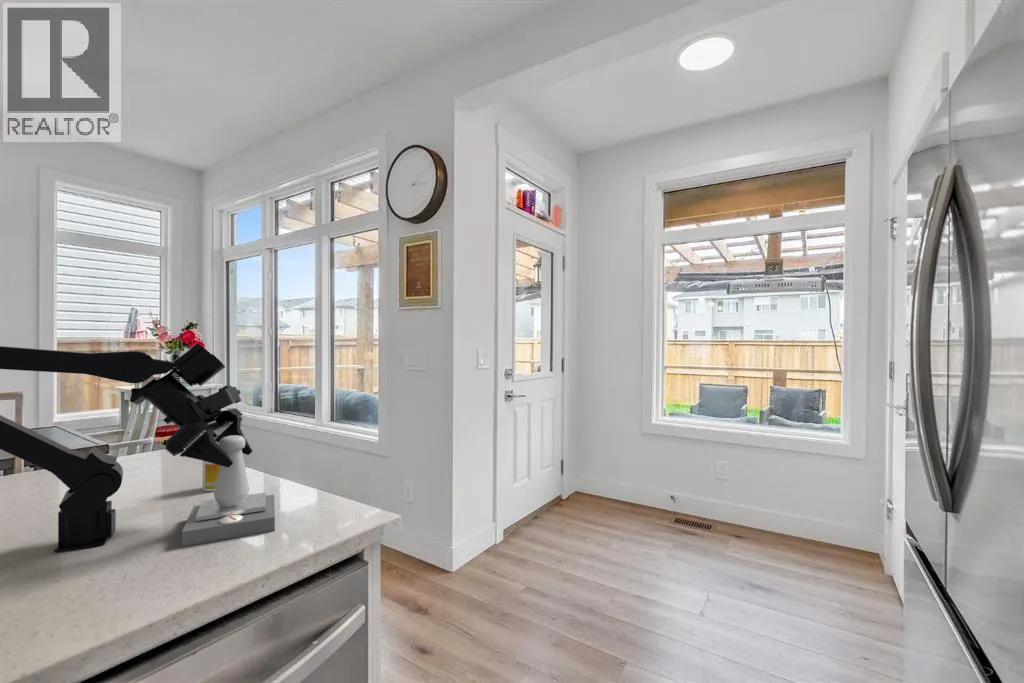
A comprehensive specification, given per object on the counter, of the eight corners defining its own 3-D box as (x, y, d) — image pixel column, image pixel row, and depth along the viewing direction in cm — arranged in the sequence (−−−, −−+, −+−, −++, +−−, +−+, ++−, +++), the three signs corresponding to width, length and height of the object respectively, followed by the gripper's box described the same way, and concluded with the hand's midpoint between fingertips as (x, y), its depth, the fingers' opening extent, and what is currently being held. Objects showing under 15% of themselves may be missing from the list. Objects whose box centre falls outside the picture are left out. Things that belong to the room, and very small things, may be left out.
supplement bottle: (234, 487, 109) (234, 446, 109) (209, 493, 104) (209, 451, 104) (222, 483, 112) (222, 443, 112) (198, 489, 107) (198, 448, 107)
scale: (181, 546, 77) (181, 529, 77) (193, 518, 90) (193, 503, 90) (274, 530, 84) (274, 514, 84) (274, 506, 96) (274, 492, 96)
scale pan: (195, 521, 82) (195, 516, 82) (202, 505, 89) (202, 501, 89) (265, 510, 87) (265, 506, 87) (266, 496, 95) (266, 492, 95)
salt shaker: (231, 511, 84) (231, 441, 84) (206, 507, 86) (206, 439, 85) (255, 499, 90) (256, 434, 90) (231, 496, 91) (232, 432, 91)
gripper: (185, 376, 78) (254, 438, 80) (232, 370, 97) (287, 420, 99) (133, 423, 77) (205, 485, 79) (190, 408, 95) (248, 458, 97)
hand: (241, 459), depth 88 cm, fingers open, 9 cm apart
